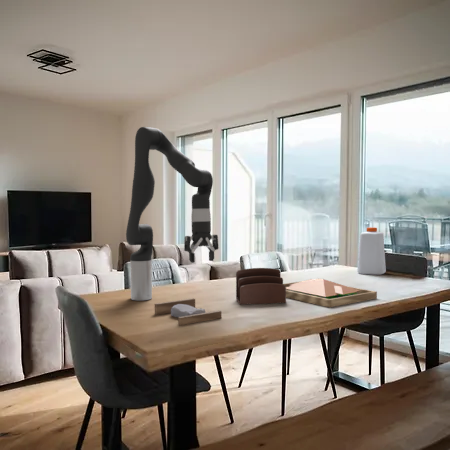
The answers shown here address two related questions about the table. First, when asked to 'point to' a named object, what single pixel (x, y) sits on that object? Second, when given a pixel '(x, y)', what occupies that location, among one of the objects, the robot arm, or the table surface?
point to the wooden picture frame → (359, 297)
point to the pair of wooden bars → (166, 308)
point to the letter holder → (260, 286)
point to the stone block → (185, 310)
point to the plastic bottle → (371, 253)
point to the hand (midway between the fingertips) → (201, 261)
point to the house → (322, 288)
